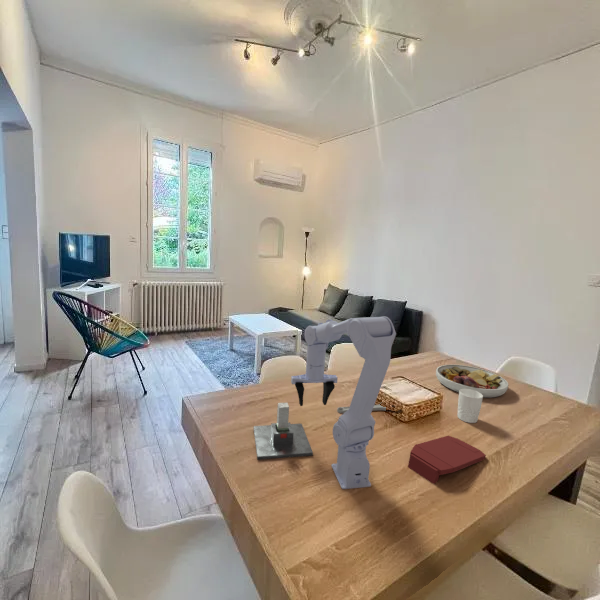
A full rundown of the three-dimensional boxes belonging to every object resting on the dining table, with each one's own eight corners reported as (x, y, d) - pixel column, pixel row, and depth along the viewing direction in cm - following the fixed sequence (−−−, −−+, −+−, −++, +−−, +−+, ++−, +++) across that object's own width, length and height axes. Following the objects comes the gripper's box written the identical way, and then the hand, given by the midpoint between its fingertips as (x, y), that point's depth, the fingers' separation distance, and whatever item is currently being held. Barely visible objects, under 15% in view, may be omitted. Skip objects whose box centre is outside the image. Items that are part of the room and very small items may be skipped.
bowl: (437, 369, 177) (439, 355, 176) (503, 382, 164) (505, 367, 163) (432, 389, 150) (434, 373, 149) (510, 407, 138) (513, 389, 136)
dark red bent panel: (447, 448, 112) (401, 463, 97) (450, 434, 112) (405, 447, 97) (484, 469, 103) (440, 489, 87) (488, 454, 102) (444, 471, 87)
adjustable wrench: (338, 414, 124) (338, 410, 123) (333, 406, 130) (334, 402, 130) (402, 412, 128) (402, 408, 128) (394, 404, 134) (395, 400, 134)
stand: (312, 455, 98) (313, 441, 97) (257, 459, 95) (258, 445, 94) (301, 426, 113) (302, 413, 113) (253, 428, 110) (254, 416, 109)
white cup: (454, 420, 124) (458, 394, 122) (456, 411, 131) (459, 387, 129) (479, 426, 120) (483, 400, 119) (479, 417, 127) (483, 392, 126)
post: (287, 431, 102) (289, 407, 101) (277, 432, 101) (279, 407, 100) (286, 426, 105) (287, 402, 104) (276, 426, 104) (277, 402, 103)
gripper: (333, 358, 110) (330, 397, 113) (290, 359, 107) (288, 399, 110) (340, 366, 104) (337, 407, 106) (294, 367, 101) (292, 409, 103)
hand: (312, 404), depth 107 cm, fingers open, 7 cm apart
